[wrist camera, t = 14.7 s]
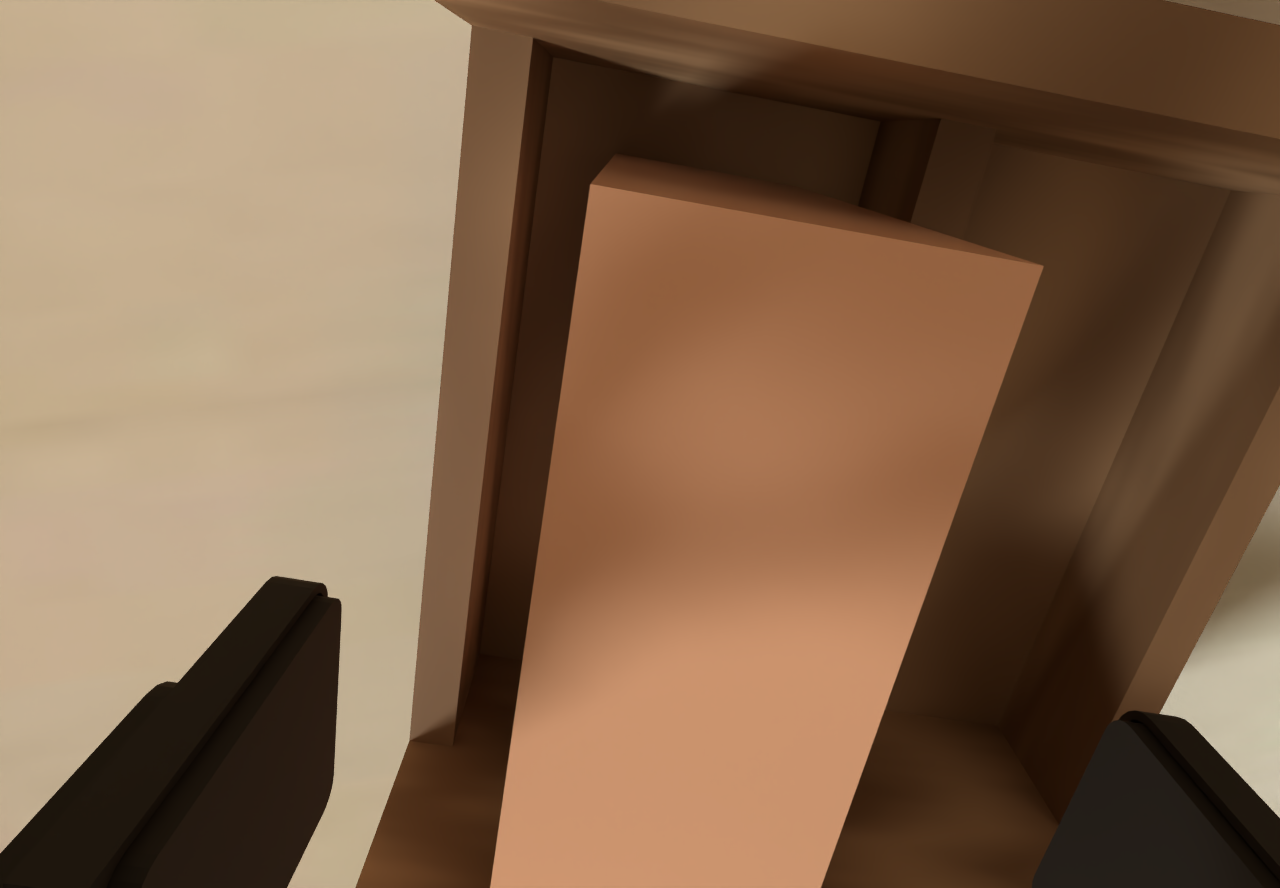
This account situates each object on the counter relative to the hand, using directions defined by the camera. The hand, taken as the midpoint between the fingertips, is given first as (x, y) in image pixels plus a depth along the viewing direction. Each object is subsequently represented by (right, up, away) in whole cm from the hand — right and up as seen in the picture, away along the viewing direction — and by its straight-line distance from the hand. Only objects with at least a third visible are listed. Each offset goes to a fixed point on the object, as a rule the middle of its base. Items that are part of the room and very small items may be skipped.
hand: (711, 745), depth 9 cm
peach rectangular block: (0, +4, +10) cm, 11 cm away
